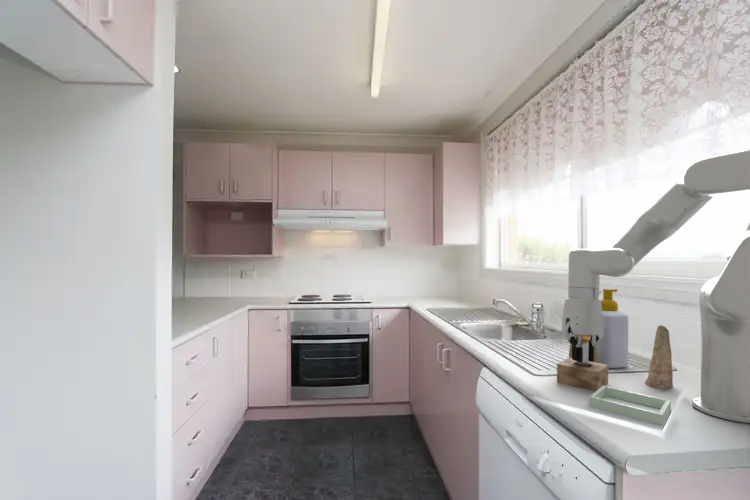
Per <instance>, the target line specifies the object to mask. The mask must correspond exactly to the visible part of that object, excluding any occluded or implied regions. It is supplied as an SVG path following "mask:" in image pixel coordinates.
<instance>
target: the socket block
mask: <svg viewBox="0 0 750 500" xmlns="http://www.w3.org/2000/svg"><path fill="white" fill-rule="evenodd" d="M556 383H558V384H563V385H565V386H571V387H573V388H574V387H575V388H579V389H583V390H587V391H592V392H594V393H595V392H596V391H597V390H598V389H599V388H601V387H602V386H607V385H608V384H609V368H608V365H606V364H601V363H596V362H591V361H589V367H584V366H579V365H576V361H575V360H572V358H569V357H567V358H566V359H564V360H562V361H560V362H557V364H556Z"/></svg>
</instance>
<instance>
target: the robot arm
mask: <svg viewBox="0 0 750 500" xmlns="http://www.w3.org/2000/svg"><path fill="white" fill-rule="evenodd" d="M740 191H747V192H748V193H749V194H750V149H747V150H742V151H737V152H731V153H727V154H720V155H716V156H714V155H713V156H710V157H706V158H701V159H699V160H696V161H694V162H693V163H691V164H690V163H689V165H688V166H687V167H686V168H685V169H684V170H683V172H682V173H681V174H680V175H679V176H678V177H677V178H676V179H675V180H674V181H673V182H672V183H671V184H670V185H669V186H668V187H667V188H666V189H665V190H664V191H663V192H662V193H661V194H660V195H659V196H658V197H657V198H656V199H655V200H654V201H653V202H652V203H651V204H650V205H649V206H648V207H646V209H644V210H643V212H641V214H640V215H639V217H638V218H637V220H636V221H635V222H634V224H633V225H632V226H631V227H630V228H629V229H628V231H626V233H625V234H624V235H622V237H621V238H620V239H619V240H617V242H616V243H614V244H613V246H612V247H611V248H605V249H595V248H594V249H593V248H574V249H571V250H570V251H569V252H568V278H567V279H568V288H567V289H568V290H567V291H568V292H567V293H568V296H567V297H565V300H564V304H563V309H562V316H561V317H562V318H561V331H562V333H561V337H562V338H563V339H565V340H567V341H568V343H569V346H570V345H572V360H575V361H578V362H582V361H583V348H582V347H581V340H582V336H590V335H591V340H589V361H591V362H592V361H594V347H595V346H596V342H597V341H598V340H599V339H600V338H601V337H603V336H604V333H603V314H602V306H601V298H600V294H601V293H602V291H601V290H600V279H601V278H600V276H606V277H613V278H621V277H625V276H626V275H628V274H630V273H631V272H632V271H633V269H634V267H635V266H636V265H638V263H640V262H641V261H642V260H643V259H644V258H645V257H646V256H647V255H648V254H649V253H650V252H651V251H653V249H655V248H656V247H657V246H658V245H660V244H661V243H663V242H664V241H665V240H667V239H669V238H670V237H672V236H673V235H674V234H675V233H676V232H677V231H678V230H680V229H681V227H683V226H684V225H685V224H686V223H687V222H689V221H690V219H691V218H693V217H694V216H695V215H696V214H697V213H698V212H699V211H700V210H701V209H702V208H704V207H705V205H706V204H707V203H709V202H710V201H711V200H712V199H713V198H714V197H715V196H717V195H718V194H724V193H731V192H732V193H733V192H740ZM725 253H726V254H725V257H726V261H727V264H726V265H725V267H724V269H723V271H722V272H721V273H720V275H719V276H715V277H713V278H712V277H711V279H709V280H707V281H706V282H705V283H704V284H703V285H702V287H701V289H700V292H699V297H698V298H699V309H700V310H699V312H700V313H699V314H700V338H701V339H700V397H698V396H697V397H694V398H693V399H692V401H691V404H692V406H693V407H694V409H696V410H698V411H700V412H702V413H705V414H708V415H711V416H714V417H716V418H720V419H724V420H727V421H733V422H737V423H744V424H745V423H746V424H750V211H749V212H748V214H747V215H746V217H745V220H744V222H743V223H742V224H741V226H740V228H739V230H738V232H737V233H736V235H735V236H734V238H733V240H732V241H731V242H730V244H729V245H728V246H727V249H726V251H725ZM575 337H577V338H576V339H575Z"/></svg>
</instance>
